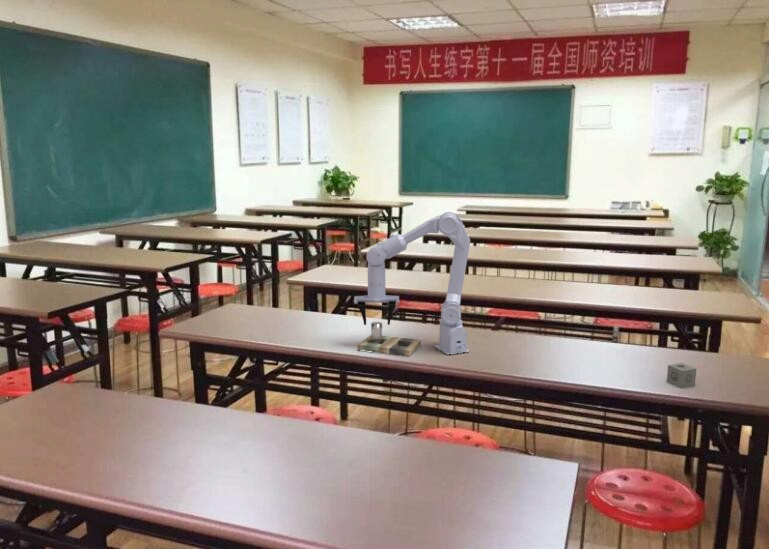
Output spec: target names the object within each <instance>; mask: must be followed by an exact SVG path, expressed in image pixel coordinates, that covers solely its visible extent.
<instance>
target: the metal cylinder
mask: <svg viewBox="0 0 769 549" xmlns="http://www.w3.org/2000/svg"><path fill="white" fill-rule="evenodd" d="M370 329H371V330H370V335H371V343H376V344H382V336H383V322H381V321H373V322H371V323H370Z"/></svg>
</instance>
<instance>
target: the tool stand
mask: <svg viewBox="0 0 769 549" xmlns="http://www.w3.org/2000/svg"><path fill="white" fill-rule="evenodd" d="M421 346H422V339H416V338H406V337H399V336H398V337H397V336H388V335H382V344H376V343H371V334H370V335H369V336H368V337H366V338H365V339H363V340H362V341H360V342H359V343H358V344H357V351H358V350H365V351H372V352H371V353H374V352H379V353H378V354H382V353H385V354H384V355H391V354H394V355H393V356H399V355H401V357H407V356H409V358H410V357H411V356H412V355H414V353H415V352H416V351H418V349H419V348H421ZM365 351H364V352H365Z"/></svg>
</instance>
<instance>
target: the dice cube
mask: <svg viewBox="0 0 769 549" xmlns="http://www.w3.org/2000/svg"><path fill="white" fill-rule="evenodd" d="M696 379H697V368H696V367H693V366H691V365H688V364H685V363H683V362H680V363H674V364H668V365H667V374H666V383H668V384H671V385H673V386H675V387H677V388H680V389H685V388H689V386H690V387H695V386H696ZM684 387H685V388H684Z"/></svg>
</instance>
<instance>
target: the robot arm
mask: <svg viewBox="0 0 769 549" xmlns="http://www.w3.org/2000/svg"><path fill="white" fill-rule="evenodd" d="M439 232H440V233H441V234H442V235H444V236H446V237H447V238H449V240H450V241H451V242H452V243H453V244H454V251H453V257H452V262H451V269H450V275H449V280H448V287H447V292H446V297H445V300H444V302H442V304H441V311H440V312H441V313H440V320H439V338H438V339H439V344H435V345H434V348H436V349H438V350H439V351H440V350H441V352H442V351H443V352H442V353H444V354H445V353H446V354H445V355H447V356H450V355H449V354H451V355H457V353H458V354H464V353H463V352H465V353H469V352H470V350H469V349H468V346H467V345H468V333H467V330H466V329H465V328H464V327H463V326H464V325H463V320H462V319H461V318H462V313H461V312H462V311H461V310H462V307H461V299H462V292H463V286H464V282H465V281H464V280H465V275H466V268H467V262H468V258H469V253H470V252H469V251H470V245H471V238H470V236H469V235H468V232H467V230H466V228H465V226H464V223H463V221H462V220H461V218H459V216H458V215H456V214H455V213H454V212H450V211H447V212H444V213H443V214H441V215H437V216H434V217H432V218H429V219H428V220H426V221H424V222H423V223H421V224H420V225H418V226H415V228H413V229H411V230H409V231H408V232H406V233H404V234H399V233H396V234H394V233H392V234H390V235H389V238H387V239H386V240H383V241H382V242H380V241H379V242H377V243H376V245H374V246H372V247H370V249H369V250H368V251H367V253H366V261H367V295H355V296H353V297H354V298H353V300H354V304H357V308H358V310H359V312H360V314H361V318H362V320H363V325H364V326H367V317H366V316H367V313H366V310H367V309H366V304H368V303H369V304H370V303H374V304H375V303H387V326H390V325H391V324H390V323H391V318H392V315H393V314H394V310H395V308H396V306H397V304H400V295H390V294H386V263H385V261H386V260H387V259H388V260H390V259H391V258H394V257H395V256H397V255H399V254H400V253H402V252H404V251H406V250H407V247H408V244H409V243H413V241H416V240H418V239H421V238H422V237H423V236H426V235H428V234H439Z"/></svg>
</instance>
